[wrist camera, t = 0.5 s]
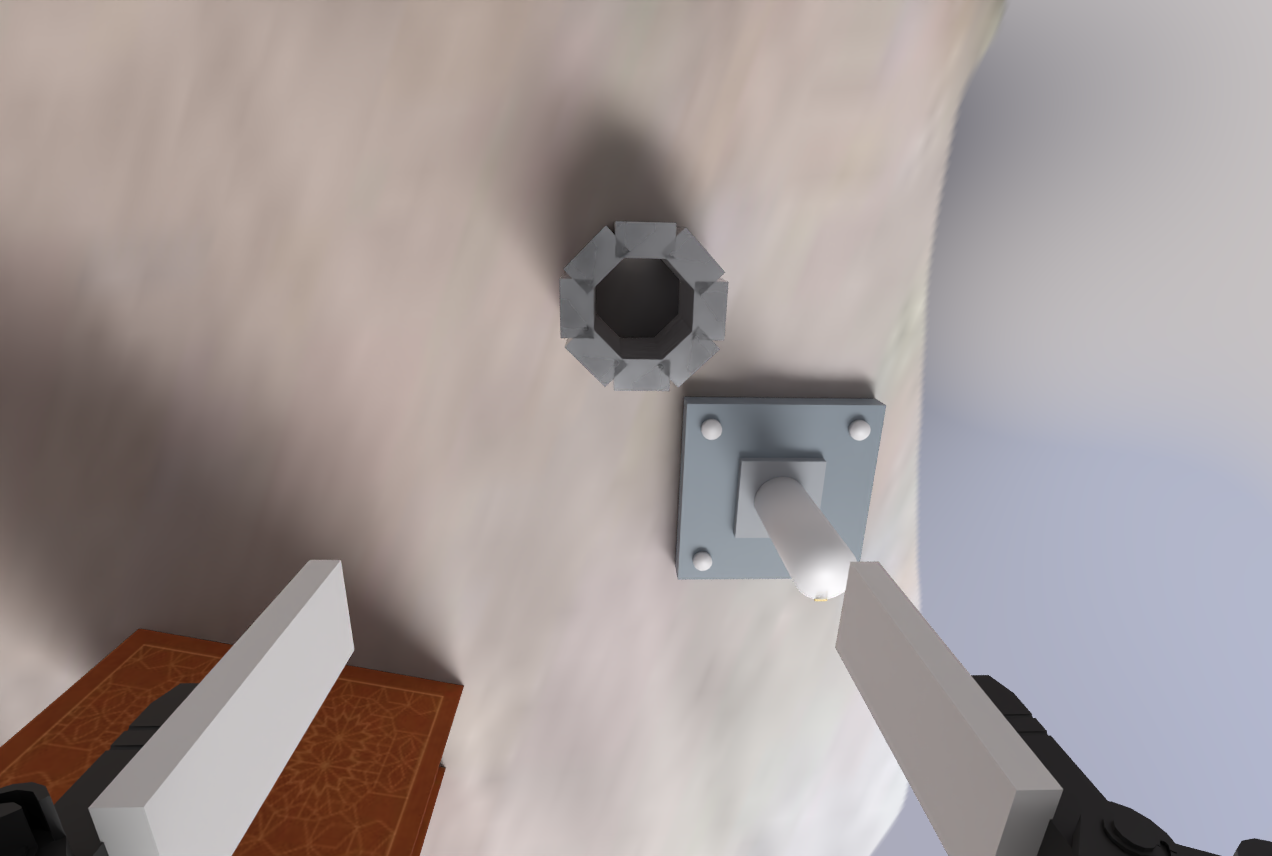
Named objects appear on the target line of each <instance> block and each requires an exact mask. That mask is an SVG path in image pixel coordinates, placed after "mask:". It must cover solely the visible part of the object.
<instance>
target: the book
mask: <svg viewBox="0 0 1272 856" xmlns="http://www.w3.org/2000/svg"><path fill="white" fill-rule="evenodd" d="M232 646H233V645H230V644H225V643H219V642H213V641H208V640H202V639H196V638H191V637H185V636H179V635H174V634H168V633H162V632H157V631H151V630H145V629H138V630H137V631H135V632H134V633H133V634H132V635H131V636H130V637H128V638H127V639H126V640H125V641H124V642H123V643H121V644H120V645H119V646H118V647H117V648H116V649H114V650H113V651H112V652H111V653H110V654H109V655H107V656H106V657H105V658H104V659H103V660H102V661H100V662H99V663H98V664H97V665H96V666H95V667H93V668H92V669H91V670H90V671H89V672H88V673H86V674H85V675H84V676H83V677H82V678H81V679H79V680H78V681H77V682H76V683H75V684H74V685H72V686H71V687H70V688H69V689H68V690H67V691H65V692H64V693H63V694H62V695H61V696H60V697H58V698H57V699H56V700H55V701H54V702H53V703H51V704H50V705H49V706H48V707H47V708H46V709H44V710H43V711H42V712H41V713H40V714H39V715H37V716H36V717H35V718H34V719H33V720H32V721H30V722H29V723H28V724H27V725H26V726H25V727H23V728H22V729H21V730H20V731H19V732H18V733H16V734H15V735H14V736H13V737H12V738H11V739H9V740H8V741H7V742H6V743H5V744H4V745H2V746H1V747H0V788H2V787H5V786H8V785H11V784H18V783H28V782H34V783H37V784H41V785H44V786H46V788H47V790H48V792H49V794H50V797H51V799H52V802H53V804H55V803H56V802H57V801H58V800H59V799H60V798H61V797H62V796H63V795H64V794H65V792H66V791H67V790H68V789H69V788H70V787H71V786H72V785H73V784H74V783H75V782H76V781H77V780H78V779H79V778H80V777H81V776H82V775H83V774H84V773H85V772H86V771H87V769H88V768H89V767H90V766H91V765H92V764H93V763H94V762H95V761H96V760H97V759H98V758H99V757H100V756H101V755H102V754H103V753H104V752H105V751H106V750H109V749H110V747H111V746H110V745H111V744H112V743H113V742H114V741H115V740H116V739H117V738H118V737H119V736H120V735H121V734H122V733H123V732H124V731H128V729H129V726H130V725H131V723H132V722H133V721H134V720H135V719H136V718H137V717H138V716H139V715H140V714H141V713H142V712H143V711H144V710H145V709H146V708H147V707H148V706H149V705H150V704H151V703H152V702H153V701H155V700H156V699H158V698H159V697H161V696H162V695H164V694H165V693H167V692H168V691H170V690H171V689H173V688H174V687H176V686H177V685H179V684H180V683H200V682H201V681H202V680H203V679H204V678H205V677H206V675H207V674H208V673H209V672H210V671H211V670H212V669H213V668H214V667H215V665H216V664H217V663H218V662H219V661H220V660H221V659H222V658H223V656H224V655H225V654H226V653H227V652H228V651H229V650H230V649H231V647H232ZM463 687H464V686H463V685H457V684H451V683H446V682H440V681H434V680H429V679H423V678H417V677H412V676H406V675H400V674H395V673H389V672H383V671H378V670H372V669H366V668H361V667H355V666H349V665H345V667H344V668H343V670H342V672H341V673H340V675H339V677H338V678H337V680H336V682H335V683H334V685H333V687H332V688H331V690H330V692H329V693H328V695H327V697H326V698H325V700H324V702H323V703H322V705H321V707H320V708H319V710H318V712H317V713H316V715H315V717H314V719H313V720H312V722H311V724H310V725H309V727H308V729H307V730H306V732H305V734H304V735H303V737H302V739H301V740H300V742H299V744H298V745H297V747H296V749H295V750H294V752H293V754H292V755H291V757H290V759H289V760H288V762H287V764H286V765H285V767H284V769H283V770H282V772H281V774H280V776H279V777H278V779H277V781H276V782H275V784H274V786H273V787H272V789H271V791H270V792H269V794H268V796H267V797H266V799H265V801H264V802H263V804H262V806H261V807H260V809H259V811H258V812H257V814H256V816H255V817H254V819H253V821H252V822H251V824H250V826H249V827H248V829H247V831H246V833H245V834H244V836H243V838H242V839H241V841H240V843H239V844H238V846H237V848H236V849H235V851H234V853H233V854H232V856H420V853H421V849H422V846H423V843H424V839H425V836H426V833H427V829H428V826H429V823H430V819H431V816H432V813H433V809H434V806H435V802H436V799H437V796H438V792H439V789H440V786H441V782H442V779H443V776H444V772H445V769H446V768H444V767H439V764H440V761H441V758H442V755H443V752H444V748H445V745H446V742H447V739H448V736H449V732H450V729H451V726H452V723H453V720H454V716H455V713H456V710H457V707H458V703H459V700H460V697H461V694H462V691H463Z"/></svg>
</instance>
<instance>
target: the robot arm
mask: <svg viewBox="0 0 1272 856" xmlns="http://www.w3.org/2000/svg"><path fill="white" fill-rule="evenodd" d="M835 648H836V650H837V652H838V653H839V655H840V657H841V659H842V661H843V663H844V664H845V666H846V668H847V670H848V672H849V674H850V675H851V677H852V679H853V681H854V683H855V685H856V686H857V688H858V690H859V692H860V694H861V696H862V698H863V699H864V701H865V703H866V705H867V707H868V709H869V710H870V712H871V714H872V716H873V718H874V720H875V721H876V723H877V725H878V727H879V729H880V731H881V732H882V734H883V736H884V738H885V740H886V742H887V744H888V745H889V747H890V749H891V751H892V753H893V755H894V756H895V758H896V760H897V762H898V764H899V766H900V767H901V769H902V771H903V773H904V775H905V777H906V779H907V780H908V782H909V784H910V786H911V788H912V789H913V791H914V793H915V795H916V797H917V799H918V801H919V802H920V804H921V806H922V808H923V810H924V812H925V813H926V815H927V817H928V819H929V821H930V823H931V825H932V826H933V828H934V830H935V832H936V834H937V836H938V837H939V839H940V841H941V842H942V845H943V847H944V848H945V850H946V852H947V854H948V856H1220V855H1216V854H1212V853H1209V852H1205V851H1201V850H1197V849H1194V848H1190V847H1186V846H1182V845H1179V844H1175V843H1174V842H1173V840H1172V839H1171V838H1170V837H1169V835H1168V834H1167V833H1166V832H1164V831H1163V830H1162V829H1161V828H1160V827H1158V826H1157V825H1156V824H1155V823H1154V822H1152V821H1151V820H1150V819H1148V818H1146V817H1145V816H1143V815H1141V814H1140V813H1138V812H1136V811H1134V810H1133V809H1131V808H1128V807H1125V806H1123V805H1120V804H1117V803H1114V802H1109V801H1107V800H1106V798H1105V797H1104V796H1103V795H1102V794H1101V793H1100V792H1099V790H1098V789H1097V788H1096V787H1095V786H1094V785H1093V783H1092V782H1091V781H1090V780H1089V779H1088V778H1087V777H1086V775H1084V773H1083V772H1082V771H1081V770H1080V769H1079V767H1077V765H1076V764H1075V763H1074V762H1073V761H1072V760H1071V758H1070V757H1069V756H1068V755H1067V754H1066V753H1065V751H1064V750H1063V749H1062V748H1061V747H1060V746H1059V745H1058V743H1057V742H1056V741H1055V740H1054V739H1053V738H1052V737H1051V736H1048V735H1047V731H1046V730H1045V728H1044V727H1043V726H1042V725H1041V724H1040V723H1039V722H1038V721H1037V719H1036V718H1033V717H1032V714H1031V713H1030V711H1029V710H1028V709H1027V708H1026V707H1025V706H1024V704H1022V702H1021V701H1020V700H1019V699H1018V698H1017V696H1016V695H1015V694H1014V693H1013V692H1011V691H1010V690H1009V689H1007V688H1006V687H1004V686H1003V685H1002V684H1000V683H999V682H997V681H996V680H995V679H993V678H992V677H991V676H989V675H973V676H972V675H970V674H969V673H968V671H967V670H966V669H965V668H964V667H963V665H962V664H961V663H960V661H959V660H958V659H957V658H956V657H955V655H954V654H953V653H952V652H951V650H950V649H949V648H948V647H947V645H946V644H945V643H944V642H943V641H942V639H941V638H940V637H939V636H938V634H937V633H936V632H935V631H934V629H933V628H932V627H931V626H930V625H929V623H928V622H927V621H926V620H925V618H924V617H923V616H922V615H921V613H920V612H919V611H918V610H917V608H916V607H915V606H914V605H913V604H912V602H911V601H910V600H909V599H908V597H907V596H906V595H905V594H904V592H903V591H902V590H901V589H900V588H899V586H898V585H897V584H896V583H895V581H894V580H893V579H892V578H891V576H890V575H889V574H888V573H887V572H886V570H885V569H884V568H883V567H882V565H881V564H880V563H879V562H850V566H849V572H848V578H847V584H846V589H845V595H844V601H843V606H842V612H841V618H840V624H839V629H838V635H837V641H836V647H835ZM353 651H354V644H353V637H352V630H351V624H350V617H349V610H348V604H347V597H346V590H345V584H344V577H343V570H342V564H341V560H309V561H308V562H307V563H306V564H305V566H304V567H303V568H302V569H301V570H300V571H299V572H298V573H297V575H296V576H295V577H294V578H293V579H292V580H291V581H290V582H289V584H288V585H287V586H286V587H285V588H284V589H283V590H282V591H281V593H280V594H279V595H278V596H277V597H276V598H275V599H274V600H273V601H272V603H271V604H270V605H269V606H268V607H267V608H266V609H265V610H264V612H263V613H262V614H261V615H260V616H259V617H258V618H257V619H256V621H255V622H254V623H253V624H252V625H251V626H250V627H249V628H248V630H247V631H246V632H245V633H244V634H243V635H242V636H241V637H240V638H239V640H238V641H237V642H236V643H235V644H234V645H233V646H232V647H231V649H230V650H229V651H228V652H227V653H226V654H225V655H224V656H223V658H222V659H221V660H220V661H219V662H218V663H217V664H216V665H215V667H214V668H213V669H212V670H211V671H210V672H209V673H208V674H207V675H206V677H205V678H204V679H203V680H202V681H201V682H200V683H180V684H179V685H177V686H176V687H174V688H173V689H171V690H170V691H168V692H167V693H165V694H164V695H162V696H161V697H159V698H158V699H156V700H155V701H153V702H152V703H151V704H150V705H149V706H148V707H147V708H146V709H145V710H144V711H143V712H142V713H141V714H140V715H139V716H138V717H137V718H136V719H135V720H134V721H133V722H132V723H131V725H130V726H129V729H128V731H124V732H123V733H122V734H121V735H120V736H119V737H118V738H117V739H116V740H115V741H114V742H113V743H112V744H111V745H110V746H111V747H110V749H109V750H106V751H105V752H104V753H103V754H102V755H101V756H100V757H99V758H98V759H97V760H96V761H95V762H94V763H93V764H92V765H91V766H90V767H89V768H88V769H87V771H86V772H85V773H84V774H83V775H82V776H81V777H80V778H79V779H78V780H77V781H76V782H75V783H74V784H73V785H72V786H71V787H70V788H69V789H68V790H67V791H66V792H65V794H64V795H63V796H62V797H61V798H60V799H59V800H58V801H57V802H56V803H55V804H53V802H52V799H51V797H50V794H49V792H48V790H47V788H46V786H44V785H41V784H37V783H34V782H28V783H18V784H11V785H8V786H5V787H2V788H0V856H232V854H233V853H234V851H235V849H236V848H237V846H238V844H239V843H240V841H241V839H242V838H243V836H244V834H245V833H246V831H247V829H248V827H249V826H250V824H251V822H252V821H253V819H254V817H255V816H256V814H257V812H258V811H259V809H260V807H261V806H262V804H263V802H264V801H265V799H266V797H267V796H268V794H269V792H270V791H271V789H272V787H273V786H274V784H275V782H276V781H277V779H278V777H279V776H280V774H281V772H282V770H283V769H284V767H285V765H286V764H287V762H288V760H289V759H290V757H291V755H292V754H293V752H294V750H295V749H296V747H297V745H298V744H299V742H300V740H301V739H302V737H303V735H304V734H305V732H306V730H307V729H308V727H309V725H310V724H311V722H312V720H313V719H314V717H315V715H316V713H317V712H318V710H319V708H320V707H321V705H322V703H323V702H324V700H325V698H326V697H327V695H328V693H329V692H330V690H331V688H332V687H333V685H334V683H335V682H336V680H337V678H338V677H339V675H340V673H341V672H342V670H343V668H344V667H345V665H346V663H347V662H348V660H349V658H350V656H351V655H352V653H353ZM1233 856H1272V842H1270V841H1265V840H1260V839H1255V838H1254V839H1249V840H1244V841H1241V843H1240V845H1239V846H1238V848H1237V850H1236V852H1235V853H1234V855H1233Z"/></svg>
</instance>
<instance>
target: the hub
mask: <svg viewBox="0 0 1272 856" xmlns="http://www.w3.org/2000/svg"><path fill="white" fill-rule="evenodd" d="M623 258H653V259H662V261H663V262H664V263H665V264H666V265H667V266H668V267H669V268H670V269H671V270H672V272H673V273H674V274H675V275H676V276H677V277H678V278H679V279H680V284H679V306H678V315H677V316H676V317H675V318H674V319H673V320H672V321H671V322H670V323H669V324H668V325H667V326H665V327H664V328H663V329H662V330H661V331H660V332H659V333H658V334H657V335H656V336H655V337H654V338H620V337H619V336H618V335H617V334H616V333H615V332H614V331H613V330H612V329H611V328H610V327H609V326H608V325H607V324H606V323H605V322H604V321H603V320H602V319H601V318H600V317H599V316H598V315H597V314H596V285H597V284H598V283H599V282H600V281H601V280H602V279H603V278H604V277H605V276H606V275H607V274H608V273H609V272H610V271H611V270H612V269H613V268H614V267H615V266H616V265H617V264H618V263H619V262H620V261H621V260H622V259H623ZM564 270H565V271H566V272H565V273H564V274H563V275H562V277H561V278H560V329H561V338H568V339H567V342H566V345H565V348H566V349H567V350H568V351H569V352H570V353H571V354H572V355H573V356H574V357H575V358H576V359H577V360H578V361H579V362H580V363H581V364H582V365H583V366H584V367H585V368H586V369H587V370H588V371H589V372H590V373H591V374H592V375H593V376H594V377H595V378H597V379H598V380H599V381H600V382H601V383H602V384H603V385H604V386H606V385H608V384H609V383H610V382H611V381H612V380H613V384H614V390H618V391H669V388H670V380H671V381H672V382H673V383H674V384H675V385H676V386H677V387H679V386H680V385H682V384H683V383H684V382H685V381H686V380H687V379H688V378H689V377H690V376H691V375H692V374H693V373H695V372H696V371H697V370H698V369H699V368H700V367H701V366H702V365H703V364H704V363H705V362H706V361H708V360H709V359H710V358H711V357H712V356H713V355H714V354H715V353H716V352H717V351H718V350H720V349H719V348H718V347H717V345H716V344H715V343H714V342H713V341H712V340H724V336H725V322H726V308H727V294H728V282H727V281H725V280H723V279H721V278H720V277H721V276H722V275H723V274H724V273H725V272H724V270H723V269H722V268H721V267H720V266H719V265H718V263H717V262H716V261H715V260H714V259H713V258H712V257H711V255H710V254H709V253H708V252H707V251H706V250H705V249H704V247H703V246H702V245H701V244H700V243H699V242H698V241H697V239H696V238H695V237H694V236H693V235H692V234H691V233H690V231H689V230H688V229H687V228H686V227H676V223H665V222H624V221H615V222H614V233H613V232H612V231H611V230H610V229H609V228H608V227H607V226H605V227H604V228H603V229H602V230H601V231H600V232H599V233H598V234H597V235H596V236H595V237H594V238H593V239H592V240H591V241H590V242H589V243H588V244H587V245H586V246H585V247H584V248H583V249H582V250H581V251H580V252H579V253H578V254H577V255H576V257H575V258H574V259H573V260H572V261H571V262H570V263H569V264H568V265H567V266H566V267H565V268H564Z"/></svg>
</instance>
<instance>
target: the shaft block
mask: <svg viewBox="0 0 1272 856" xmlns="http://www.w3.org/2000/svg"><path fill="white" fill-rule="evenodd" d="M885 409H886V405H885V404H883V403H881V402H880V401H878V400H877V399H865V398H751V397H684V409H683V428H682V448H681V467H680V487H679V507H678V526H677V546H676V565H675V567H676V572H677V577H678V579H792V580H793V582H794V584H795V586H796V587H797V589H798V590H799V591H800V592H801V593H802V594H804V595H805V596H807V597H809V598H813V599H814V600H815V601H827V599H829V598H833V597H835V596H838V595H840V594H841V593H843V592H844V591H845V589H846V584H847V578H848V572H849V566H850V562H860V558H861V552H862V546H863V540H864V534H865V528H866V522H867V516H868V510H869V504H870V498H871V492H872V486H873V481H874V475H875V469H876V463H877V457H878V451H879V445H880V439H881V433H882V427H883V421H884V415H885Z"/></svg>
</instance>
